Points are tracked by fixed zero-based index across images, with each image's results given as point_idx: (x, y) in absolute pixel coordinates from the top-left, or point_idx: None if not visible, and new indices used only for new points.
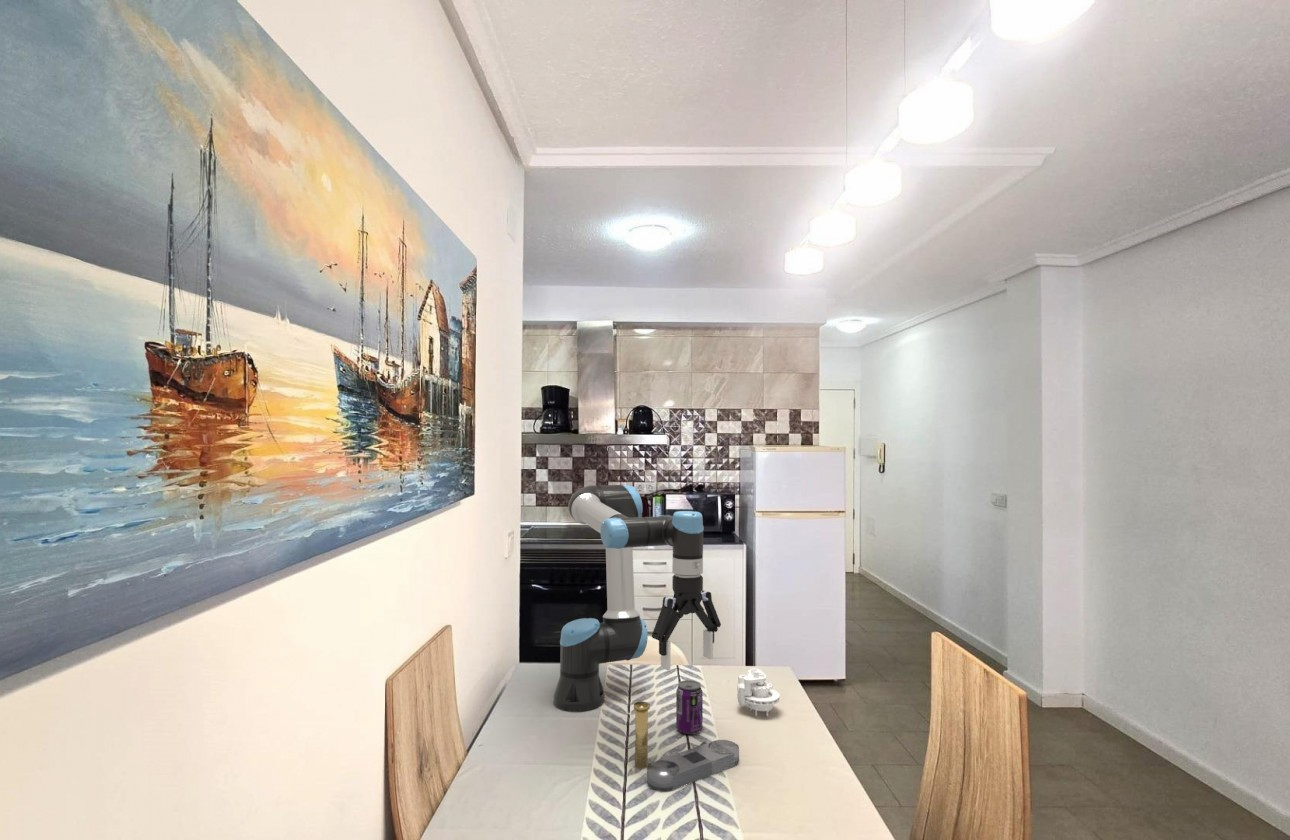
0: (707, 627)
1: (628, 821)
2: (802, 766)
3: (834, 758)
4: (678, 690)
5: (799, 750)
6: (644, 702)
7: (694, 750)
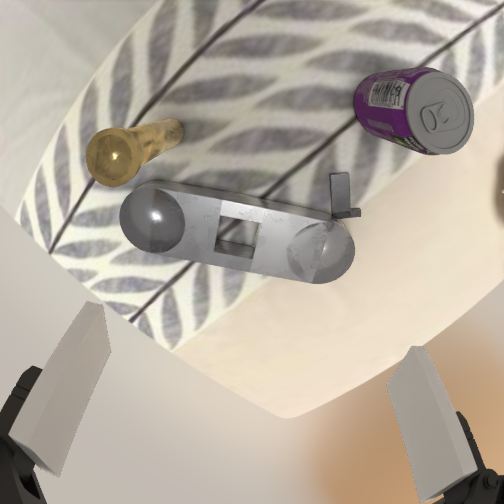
0: (467, 493)
1: (60, 247)
2: (375, 336)
3: None
4: (403, 86)
5: (421, 310)
6: (129, 150)
7: (262, 218)
